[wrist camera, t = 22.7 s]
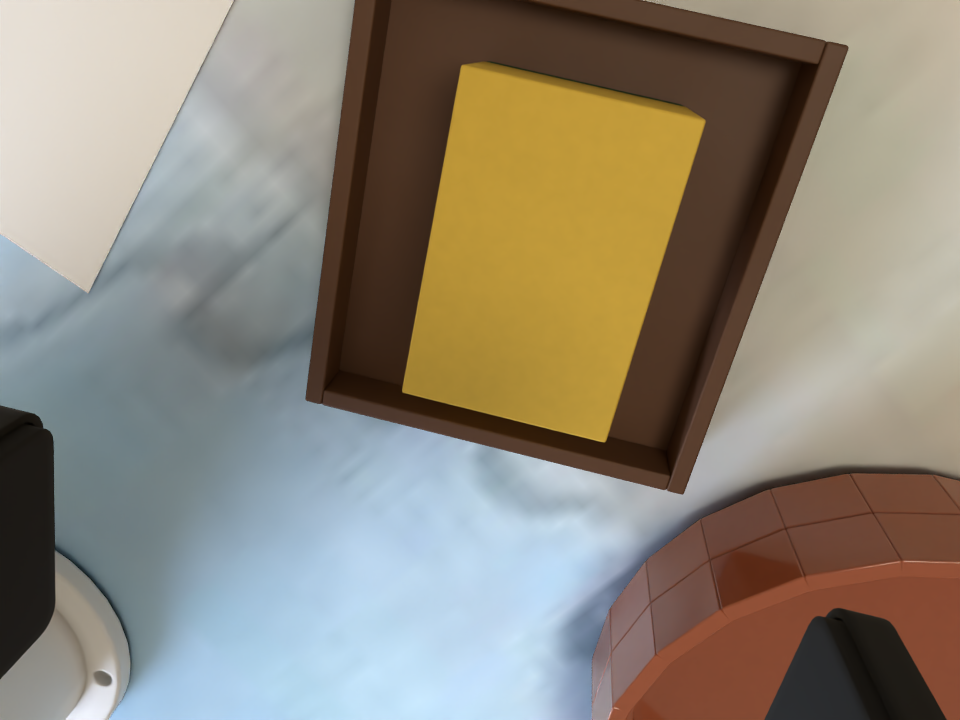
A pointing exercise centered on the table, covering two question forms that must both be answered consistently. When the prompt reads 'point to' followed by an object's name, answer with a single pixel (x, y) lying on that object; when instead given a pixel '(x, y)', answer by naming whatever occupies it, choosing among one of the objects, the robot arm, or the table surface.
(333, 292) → the tray
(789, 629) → the terracotta plant saucer
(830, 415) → the table surface
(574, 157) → the sponge
